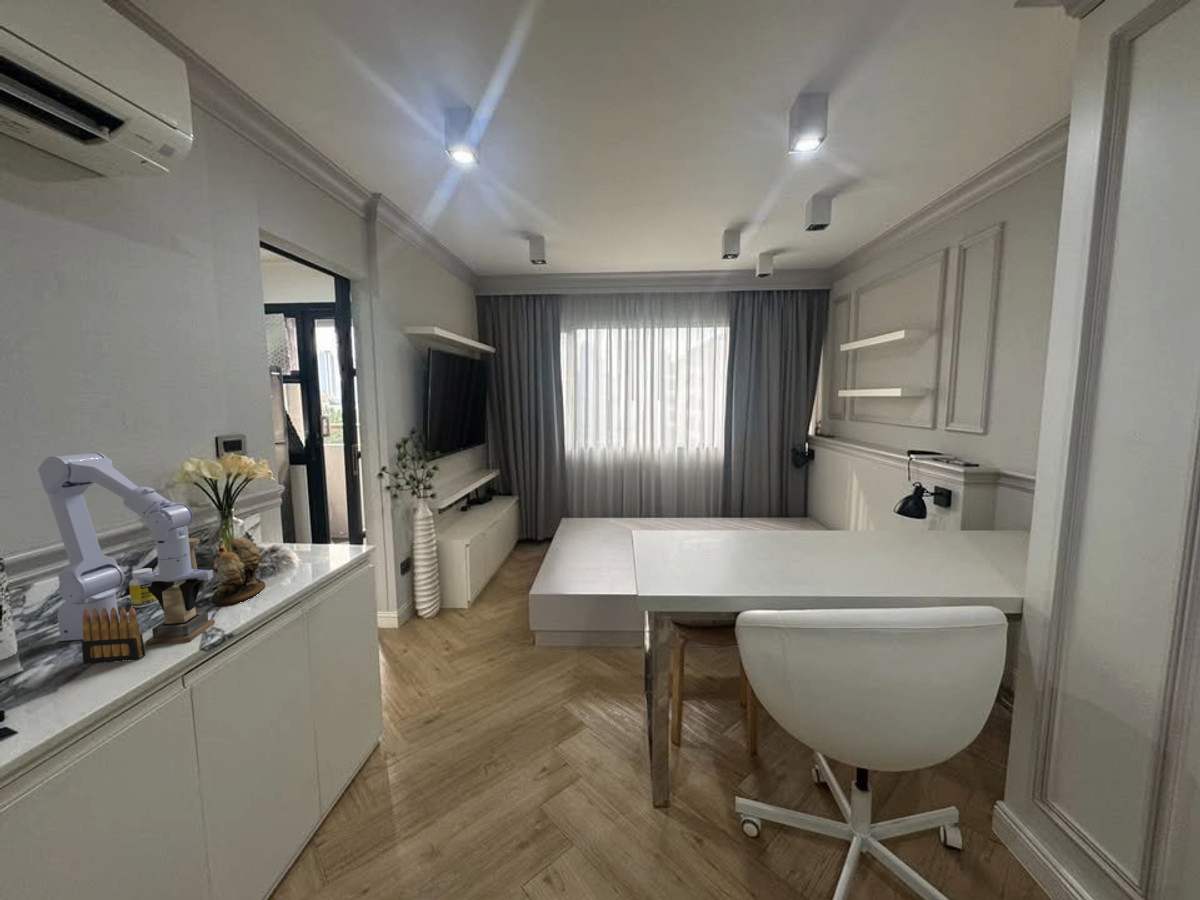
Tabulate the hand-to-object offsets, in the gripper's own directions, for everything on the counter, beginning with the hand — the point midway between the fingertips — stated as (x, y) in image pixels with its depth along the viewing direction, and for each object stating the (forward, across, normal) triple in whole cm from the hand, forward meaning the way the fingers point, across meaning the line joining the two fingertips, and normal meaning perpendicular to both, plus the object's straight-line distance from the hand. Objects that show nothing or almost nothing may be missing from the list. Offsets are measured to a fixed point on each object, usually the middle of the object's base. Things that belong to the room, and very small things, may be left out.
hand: (179, 609), depth 111 cm
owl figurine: (+6, 0, -24) cm, 25 cm away
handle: (+6, +17, -31) cm, 36 cm away
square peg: (+2, 0, 0) cm, 2 cm away
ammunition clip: (+6, +7, +10) cm, 14 cm away
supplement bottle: (+6, +22, -21) cm, 31 cm away
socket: (+6, 0, 0) cm, 6 cm away
